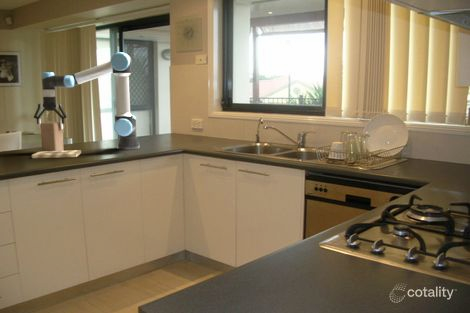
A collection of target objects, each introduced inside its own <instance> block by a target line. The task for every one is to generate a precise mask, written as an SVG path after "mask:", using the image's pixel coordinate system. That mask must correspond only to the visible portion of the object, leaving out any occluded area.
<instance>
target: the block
mask: <svg viewBox="0 0 470 313" xmlns="http://www.w3.org/2000/svg"><path fill="white" fill-rule="evenodd" d="M40 126H41V129H40V137H41V149H42V150H41V151H65V150H64V138H63V137H64V136H63V129H61V123H60V121H46V122H41V124H40Z"/></svg>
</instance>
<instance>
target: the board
mask: <svg viewBox="0 0 470 313" xmlns="http://www.w3.org/2000/svg"><path fill="white" fill-rule="evenodd" d="M80 154H82V150H79V149H78V150H76V149H75V150H74V149H73V150H64V151H42V150H41V151H37V152H35V153H33V154H31V158H32V159H54V158H56V159H57V158H58V159H59V158H77V157H78V156H80Z"/></svg>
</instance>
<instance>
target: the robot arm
mask: <svg viewBox="0 0 470 313" xmlns="http://www.w3.org/2000/svg"><path fill="white" fill-rule="evenodd" d="M132 66H133V59H132V57H131V56H130V55H129V54H128V53H125V52H123V51H122V52H121V51H119V52H115V53H114V54H113V55H112V56H111V59H110V60H109V61H107V62H105V63H102V64H100V65H99V64H98V65H95V66H93V67H91V68H87V69H84V70H82V71H79V72H75V73H73V74H68V75H55V73H54V72H50V71H48V72H46V71H44V72H42V73H41V83H42V96H43V97H42V103H43V104H42V103H38V104H37V108H36V111H35V113H34V116H33V118H34V119H36V124H37V125H38V129H39V130H41V126H40V124H41V123H42V119H41V117H42V115H44V113H45V112H49V111H50V112H52V111H54V112H55V113H56V114H57V115H58V116H59V117H60V121H59V122H60V123H61V129H62V130H63V129H64V124H65V119H66V118H68V116H67V114H66V113H65V111H64V108H62V104H61V103H57V101H56V100H57V99H56V88H74V87H76V86H78V85H81V84H84V83H86V82H89V81H92V80H93V81H94V80H95V79H98V78H102V77H105V76H107V75H110V74H113V75H114V78H115V98H116V99H115V100H116V113H115V115H114V125H113V130H114V132H115V133H116V134H117V135H118V136H119V137H118V141H117V145H116V148H117V150H122V151H128V150H129V151H130V150H138V149H140V143H139V140H138V137H137V122H136V121H137V118H136V116H135V115H133V114H132V113H131V100H130V99H131V95H130V77H129V76H130V75H131V74H132ZM56 103H57V104H56ZM42 108H43V109H42ZM41 109H42V111H41ZM58 109H59V110H58ZM60 112H61V113H60Z"/></svg>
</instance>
